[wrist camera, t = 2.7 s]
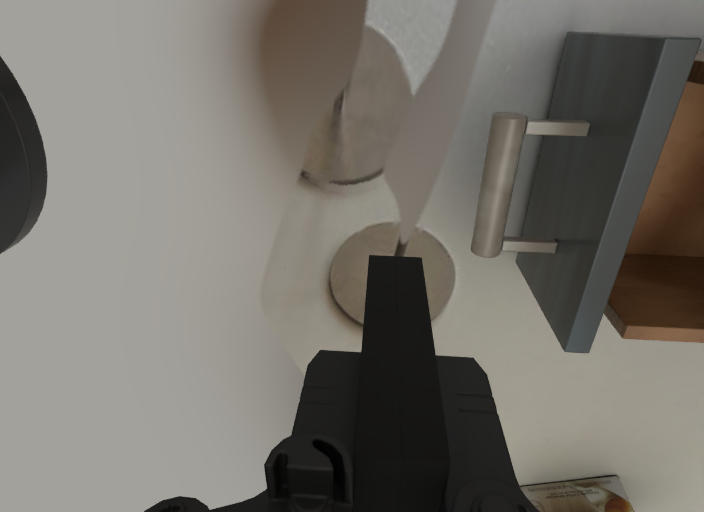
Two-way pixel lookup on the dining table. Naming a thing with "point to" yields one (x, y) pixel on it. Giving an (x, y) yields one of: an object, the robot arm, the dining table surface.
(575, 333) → the drawer
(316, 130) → the dining table surface
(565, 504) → the coffee box
